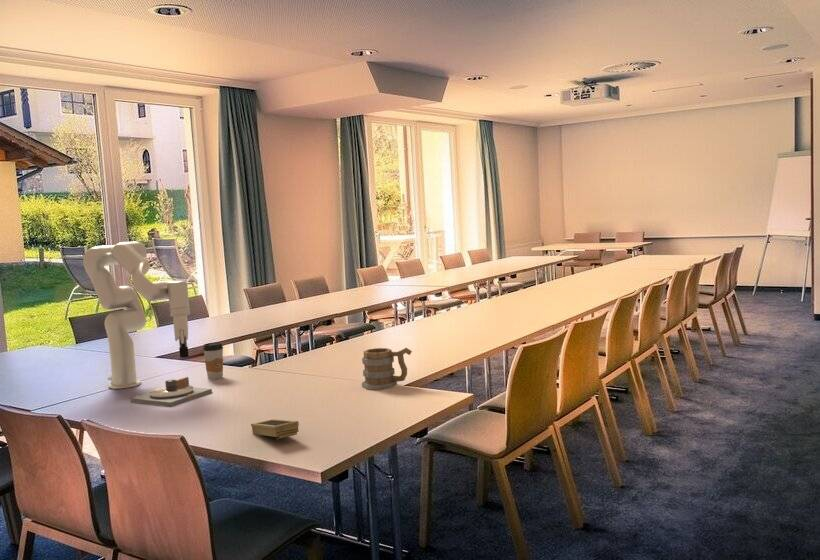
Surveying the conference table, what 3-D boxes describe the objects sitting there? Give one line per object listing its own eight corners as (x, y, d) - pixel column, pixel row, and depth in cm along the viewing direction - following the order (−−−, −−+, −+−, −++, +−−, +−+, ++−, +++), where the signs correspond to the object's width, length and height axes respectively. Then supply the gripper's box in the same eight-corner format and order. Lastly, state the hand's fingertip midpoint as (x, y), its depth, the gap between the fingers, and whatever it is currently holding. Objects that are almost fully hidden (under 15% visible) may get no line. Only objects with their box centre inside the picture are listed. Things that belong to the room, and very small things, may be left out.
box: (277, 443, 199) (274, 426, 199) (246, 439, 217) (244, 423, 217) (302, 437, 204) (300, 420, 204) (270, 434, 222) (269, 418, 222)
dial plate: (131, 402, 263) (130, 397, 263) (173, 389, 282) (172, 384, 282) (171, 406, 253) (170, 401, 253) (211, 392, 272) (211, 388, 272)
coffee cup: (210, 381, 292) (207, 346, 291) (202, 378, 299) (199, 344, 297) (228, 377, 298) (226, 343, 296) (220, 375, 304) (217, 341, 303)
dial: (170, 399, 257) (169, 387, 256) (140, 396, 264) (139, 384, 264) (203, 388, 271) (202, 377, 271) (173, 386, 279) (172, 374, 278)
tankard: (358, 389, 265) (355, 350, 263) (370, 381, 277) (368, 344, 275) (407, 391, 258) (405, 351, 257) (417, 383, 270) (416, 345, 269)
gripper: (170, 311, 282) (175, 355, 283) (169, 314, 268) (174, 361, 269) (189, 309, 284) (194, 353, 285) (189, 312, 270) (194, 358, 271)
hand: (184, 356), depth 277 cm, fingers closed
